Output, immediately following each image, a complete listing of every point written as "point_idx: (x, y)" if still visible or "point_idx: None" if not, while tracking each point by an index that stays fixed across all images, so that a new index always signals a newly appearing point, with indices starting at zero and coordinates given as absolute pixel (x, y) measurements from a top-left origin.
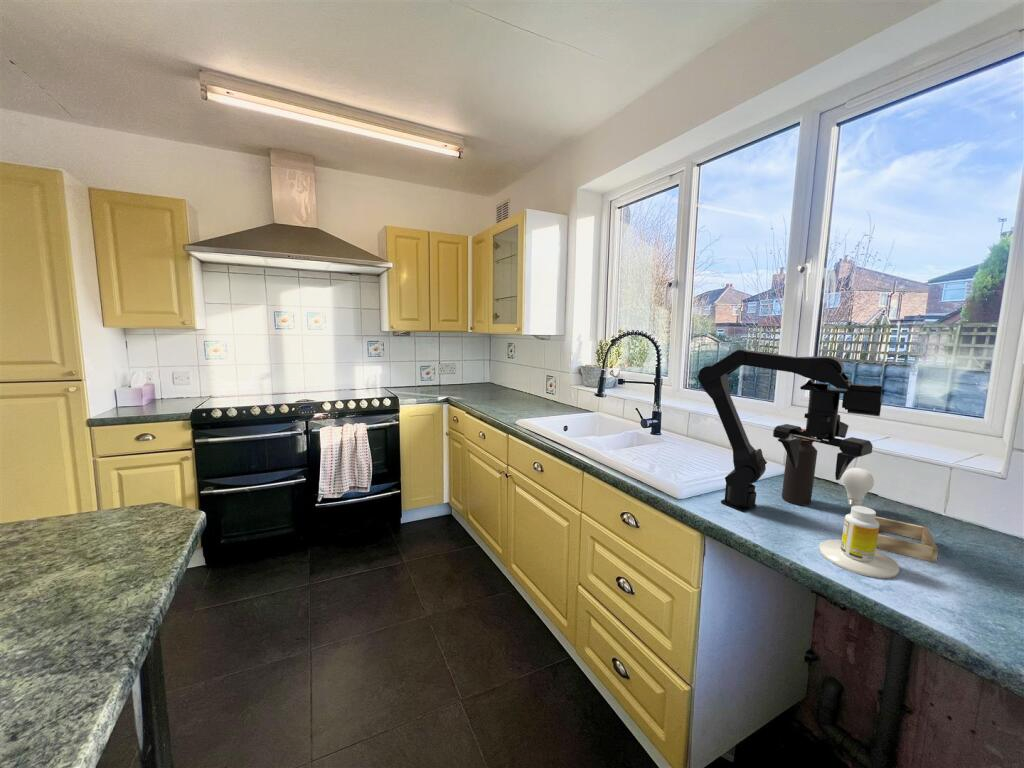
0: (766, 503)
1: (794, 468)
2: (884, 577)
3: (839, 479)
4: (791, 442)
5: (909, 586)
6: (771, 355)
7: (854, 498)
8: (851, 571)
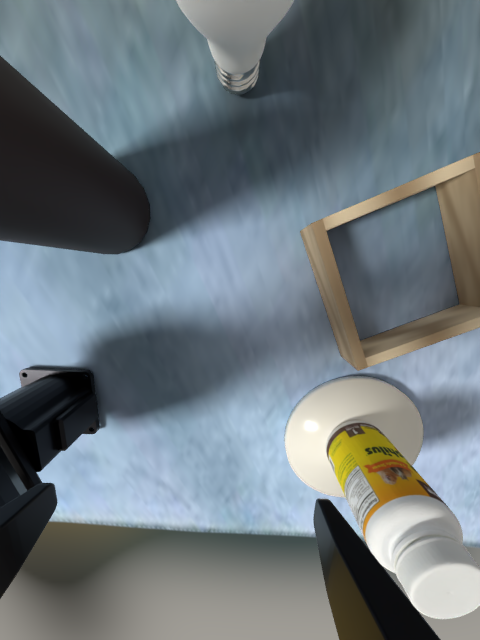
0: (87, 321)
1: None
2: None
3: (328, 501)
4: None
5: (437, 457)
6: None
7: (243, 68)
8: None
